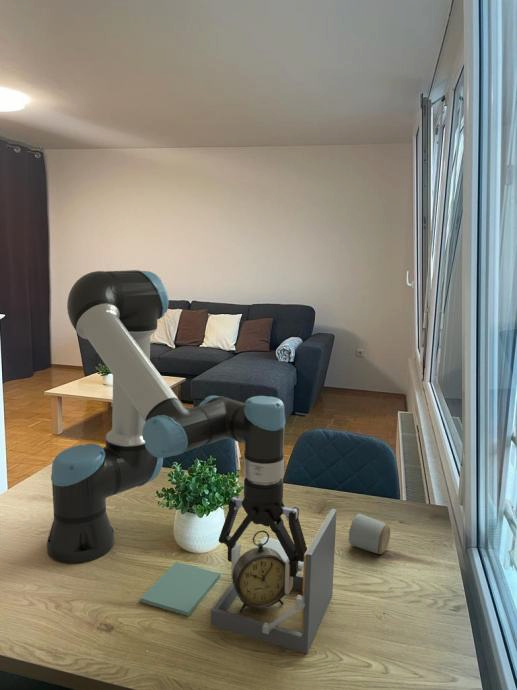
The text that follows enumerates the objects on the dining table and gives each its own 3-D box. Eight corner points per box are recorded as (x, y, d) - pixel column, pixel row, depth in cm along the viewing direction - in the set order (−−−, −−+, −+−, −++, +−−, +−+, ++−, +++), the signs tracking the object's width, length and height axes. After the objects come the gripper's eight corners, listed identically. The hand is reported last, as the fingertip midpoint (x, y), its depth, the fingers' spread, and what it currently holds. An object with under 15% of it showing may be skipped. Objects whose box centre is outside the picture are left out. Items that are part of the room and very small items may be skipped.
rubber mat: (140, 601, 109) (140, 598, 108) (175, 565, 121) (175, 561, 121) (188, 616, 105) (188, 612, 104) (220, 576, 117) (220, 573, 117)
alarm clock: (236, 618, 104) (237, 541, 101) (230, 601, 109) (231, 527, 106) (290, 609, 107) (292, 533, 104) (281, 593, 112) (283, 520, 110)
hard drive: (251, 552, 125) (301, 565, 120) (264, 535, 133) (313, 547, 128) (250, 558, 126) (301, 572, 121) (264, 541, 133) (313, 553, 128)
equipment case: (207, 628, 101) (208, 535, 98) (247, 573, 119) (249, 492, 116) (305, 658, 94) (309, 558, 91) (332, 595, 112) (336, 509, 109)
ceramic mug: (380, 561, 125) (382, 530, 124) (347, 550, 129) (349, 520, 128) (394, 541, 134) (397, 512, 132) (363, 532, 138) (365, 503, 137)
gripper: (200, 475, 104) (201, 579, 108) (316, 496, 96) (312, 609, 100) (217, 461, 111) (217, 560, 115) (327, 480, 103) (323, 586, 106)
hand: (261, 582), depth 107 cm, fingers closed on alarm clock, 11 cm apart
